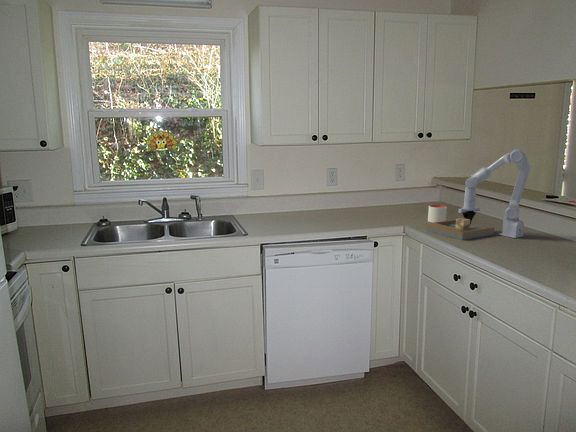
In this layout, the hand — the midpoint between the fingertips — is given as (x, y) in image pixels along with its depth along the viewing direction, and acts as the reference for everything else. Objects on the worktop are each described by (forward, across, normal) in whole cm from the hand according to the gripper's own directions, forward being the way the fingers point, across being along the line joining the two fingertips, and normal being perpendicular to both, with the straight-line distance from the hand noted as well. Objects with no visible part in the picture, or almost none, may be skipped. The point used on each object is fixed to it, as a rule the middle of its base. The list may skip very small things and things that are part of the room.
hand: (467, 225), depth 258 cm
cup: (+4, -2, -23) cm, 23 cm away
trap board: (+3, +6, 0) cm, 7 cm away
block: (+1, +4, 0) cm, 4 cm away
